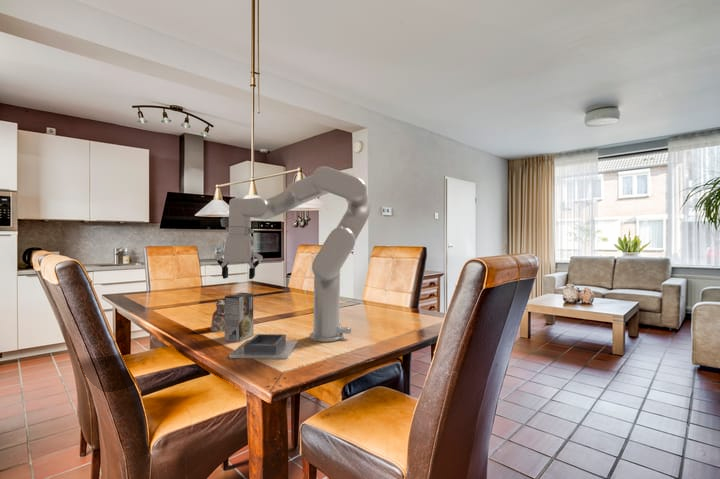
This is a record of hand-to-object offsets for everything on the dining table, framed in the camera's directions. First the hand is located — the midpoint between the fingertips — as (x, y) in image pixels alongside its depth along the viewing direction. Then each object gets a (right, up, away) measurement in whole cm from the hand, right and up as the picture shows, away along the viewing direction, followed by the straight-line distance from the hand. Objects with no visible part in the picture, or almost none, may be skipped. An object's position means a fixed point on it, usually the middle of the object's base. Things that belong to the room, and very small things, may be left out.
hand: (238, 278), depth 131 cm
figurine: (-11, -22, +12) cm, 28 cm away
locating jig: (+14, -22, -14) cm, 30 cm away
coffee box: (0, -22, 0) cm, 22 cm away
